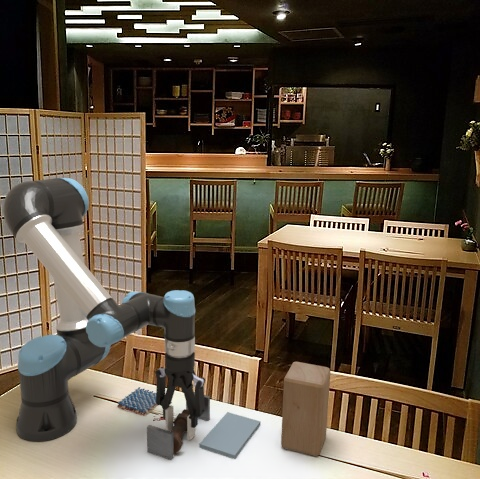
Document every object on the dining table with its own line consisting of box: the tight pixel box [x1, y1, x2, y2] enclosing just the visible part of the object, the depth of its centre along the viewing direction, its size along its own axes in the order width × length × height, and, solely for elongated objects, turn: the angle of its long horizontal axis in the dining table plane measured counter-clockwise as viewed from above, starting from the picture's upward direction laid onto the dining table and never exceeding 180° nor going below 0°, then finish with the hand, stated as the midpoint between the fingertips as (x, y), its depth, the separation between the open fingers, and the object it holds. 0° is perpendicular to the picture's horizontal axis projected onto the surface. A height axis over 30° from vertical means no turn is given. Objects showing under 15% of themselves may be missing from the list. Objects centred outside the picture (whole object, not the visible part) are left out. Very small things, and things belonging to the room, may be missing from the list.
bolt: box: [170, 408, 190, 456], centre depth 129 cm, size 6×5×15 cm
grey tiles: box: [146, 391, 211, 461], centre depth 130 cm, size 7×19×7 cm, turn 155°
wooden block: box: [280, 361, 331, 457], centre depth 126 cm, size 10×10×20 cm
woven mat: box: [116, 386, 159, 417], centre depth 145 cm, size 10×11×2 cm
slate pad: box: [198, 411, 261, 460], centre depth 130 cm, size 10×16×1 cm, turn 155°
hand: (180, 433), depth 130 cm, fingers closed on bolt, 6 cm apart
